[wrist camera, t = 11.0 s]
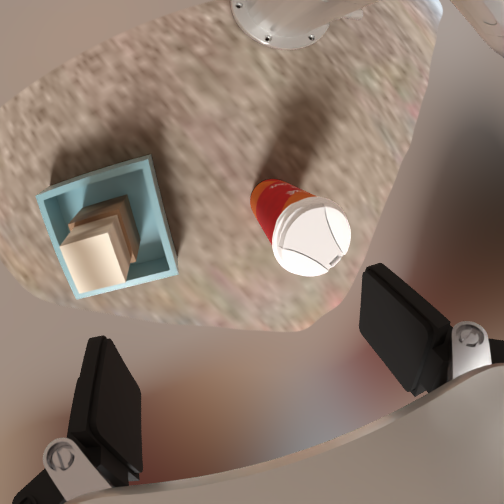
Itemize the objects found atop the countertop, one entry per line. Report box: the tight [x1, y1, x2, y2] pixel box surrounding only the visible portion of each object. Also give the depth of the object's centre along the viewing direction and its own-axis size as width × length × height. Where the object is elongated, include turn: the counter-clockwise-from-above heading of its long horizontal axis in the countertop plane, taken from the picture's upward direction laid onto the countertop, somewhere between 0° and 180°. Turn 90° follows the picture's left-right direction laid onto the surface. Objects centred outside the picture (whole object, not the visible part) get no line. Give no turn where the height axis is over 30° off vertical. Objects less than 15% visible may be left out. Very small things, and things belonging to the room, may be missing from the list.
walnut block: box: [68, 194, 141, 263], centre depth 32 cm, size 6×6×6 cm
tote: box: [36, 154, 179, 299], centre depth 33 cm, size 14×14×4 cm
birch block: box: [60, 215, 131, 294], centre depth 27 cm, size 5×5×5 cm
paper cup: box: [250, 179, 351, 277], centre depth 33 cm, size 8×8×14 cm
